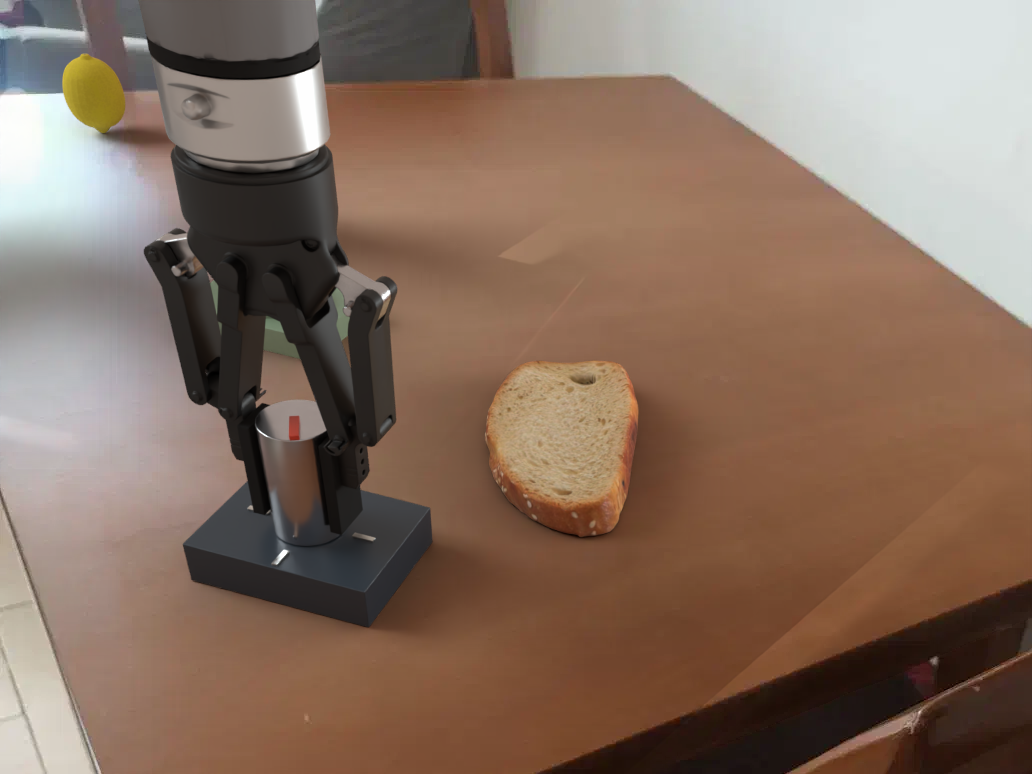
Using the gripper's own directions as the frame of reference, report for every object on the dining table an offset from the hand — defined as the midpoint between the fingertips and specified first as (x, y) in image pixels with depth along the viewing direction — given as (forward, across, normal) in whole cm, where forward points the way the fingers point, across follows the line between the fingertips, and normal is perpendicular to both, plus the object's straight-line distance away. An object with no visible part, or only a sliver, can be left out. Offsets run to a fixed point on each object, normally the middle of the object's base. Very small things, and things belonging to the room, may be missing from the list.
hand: (308, 510), depth 71 cm
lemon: (+4, -54, +53) cm, 76 cm away
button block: (+4, -18, +26) cm, 32 cm away
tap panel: (+4, 0, 0) cm, 4 cm away
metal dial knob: (+1, 0, 0) cm, 1 cm away
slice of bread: (+4, +11, +19) cm, 22 cm away
